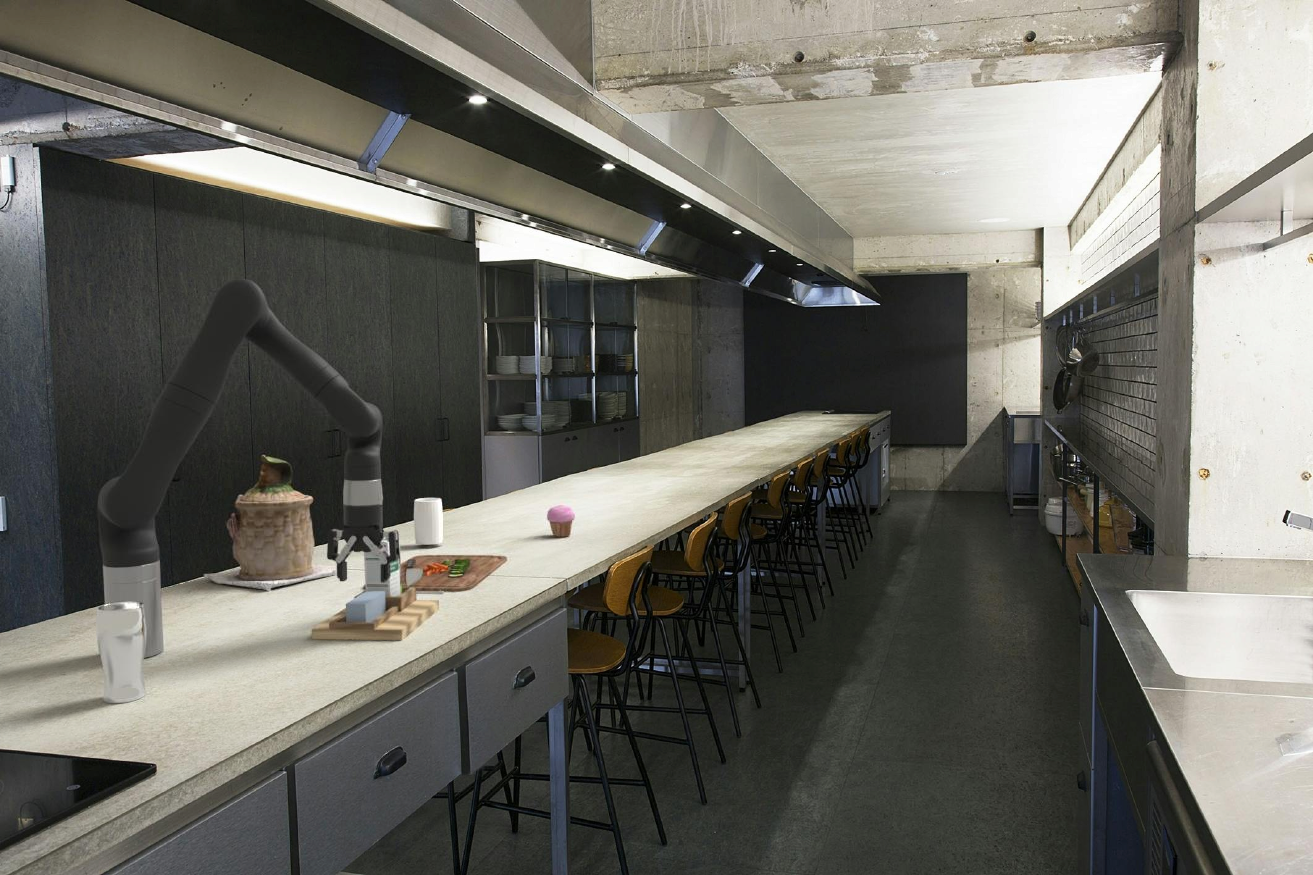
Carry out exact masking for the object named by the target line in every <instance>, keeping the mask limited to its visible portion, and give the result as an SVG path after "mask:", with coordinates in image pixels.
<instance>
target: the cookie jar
mask: <svg viewBox="0 0 1313 875" xmlns="http://www.w3.org/2000/svg"><path fill="white" fill-rule="evenodd" d="M260 460H261V462H262V463H261V466H260V474H259V478H258V482H257V483H256V484H255V485H254V486H253V487H251V488H250V489H248V490H247V491H246V492H245V494H244V495H243V494H239V495H238V496H237V497H236V499H235V502H234V507H235V509H236V511H237V513H236V512H233V513H231V516H230V517H231V518H229V519H228V520H227V521H226V528H227V530H228V533H229V536H230V537H231V539H232V541H233V544H232V554H233V558H234V560H236V562H237V563H238V564H239V566H240V568H241V569H240V568H237V569H233V570H229V571H230V572H227V571H224V572H225V573H223V572H216V573H204V574H203V576H204V577H206V578H207V579H209V580H211V581H212V582H214V583H216V584H217V585H218V584H221V585H223V584H225V585H229V586H231V585H232V586H238V587H245V588H253V589H260V590H264V591H267V592H272V590H271V589H273V588H277V587H280V586H281V587H282V586H288V585H292V584H296V583H300V582H305V581H309V580H315V579H318V578H323V577H324V578H325V577H332V575H333V576H337V565H335V566H334V565H333V566H332V565H318V564H317V565H315V564H312V563H313V555H314V550H315V549H314V548H315V538H314V531H313V523H312V522H313V521H312V518H311V511H310V505H311V504H313V502H314V498H313V496H311V495H307V494H306V495H305V494H303V493H302V492H300V491H297V490H294V489H293V487H292V486H291V484H292V479H293V477H294V476H293V467H292V465H291V464H290V463H289V462H287V461H286V460H282V459H280V458H275V457H271V456H266V455H264V454H262V455H261V456H260Z"/></svg>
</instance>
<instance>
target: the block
mask: <svg viewBox="0 0 1313 875" xmlns="http://www.w3.org/2000/svg"><path fill="white" fill-rule="evenodd" d="M358 595H359V594H358ZM345 608H346V622H372V621H373V620H375V619H376V618H378V617H379V616H380V615H382V614H383V613H385V612H386V604H385V591H366V592H364V593H363V594H361V595H359V596H358V597H356V598H354V597H353V599H351V600H350V601H348V602H346V603H345Z"/></svg>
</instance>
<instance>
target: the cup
mask: <svg viewBox="0 0 1313 875" xmlns="http://www.w3.org/2000/svg"><path fill="white" fill-rule="evenodd" d="M413 502H414V504H413V506H414V507H413V527H414V528H413V529H414V540H415V544H417V545H437V544H441V543H443V534H444V521H443V520H444V517H443V516H444V515H443V514H444V513H443V502H442V498H440V497H424V498H422V497H421V498H417V499H414V501H413Z"/></svg>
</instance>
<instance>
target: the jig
mask: <svg viewBox="0 0 1313 875" xmlns="http://www.w3.org/2000/svg"><path fill="white" fill-rule="evenodd" d="M364 592H366V590H365V589H364V591H362V592H360V593H359V594H357V595H356V596H353V599H354V598H356V597H358V596H359V595H361V594H363V593H364ZM385 604H386V612H385V613H383V614H382V615H380V616H379V617H378V618H376V619H375V620H373V621H372V622H346V607H345V608H343V609H342V610H340V611H339V612H337V613H336V614H334V615H332V616H330V617H329V618H328V619H326V620H324V621H323V622H320V623H319V624H318V625H316V626H314V627H313V628H311V637H312V640H349V639H350V640H351V639H352V641H353V640H354V639H355V640H357V641H359V640H361V641H363V640H365V641H366V640H368V641H369V640H370V641H371V640H372V641H373V640H374V641H403V640H404V639H405V638H406V637H408V636H409V635H410V634H411V633H412V632H414V631H415V630H416V629H417V628H418V627H420V626H421V625H422V624H423V623H424V622H426V621H427V620H429V618H431V616H433V615H434V614H436V613H437V612H438V611H439V610H440V602H439V600H437V599H435V600H432V599H431V600H430V599H429V600H428V599H425V600H424V599H422V600H421V599H417V594H416V587H402V594H400V595H399V596H385ZM413 630H414V631H413ZM407 635H408V636H407Z"/></svg>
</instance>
